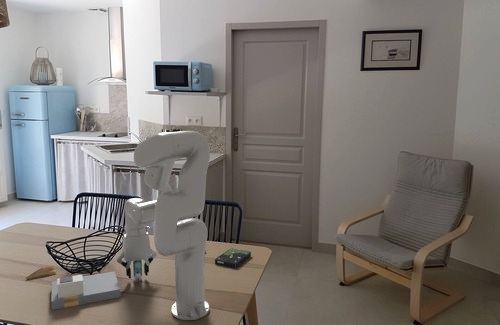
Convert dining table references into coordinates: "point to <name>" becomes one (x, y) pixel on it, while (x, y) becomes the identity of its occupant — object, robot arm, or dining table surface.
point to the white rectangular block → (70, 286)
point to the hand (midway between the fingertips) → (137, 275)
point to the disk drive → (232, 258)
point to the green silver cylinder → (137, 270)
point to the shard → (42, 272)
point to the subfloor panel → (89, 291)
